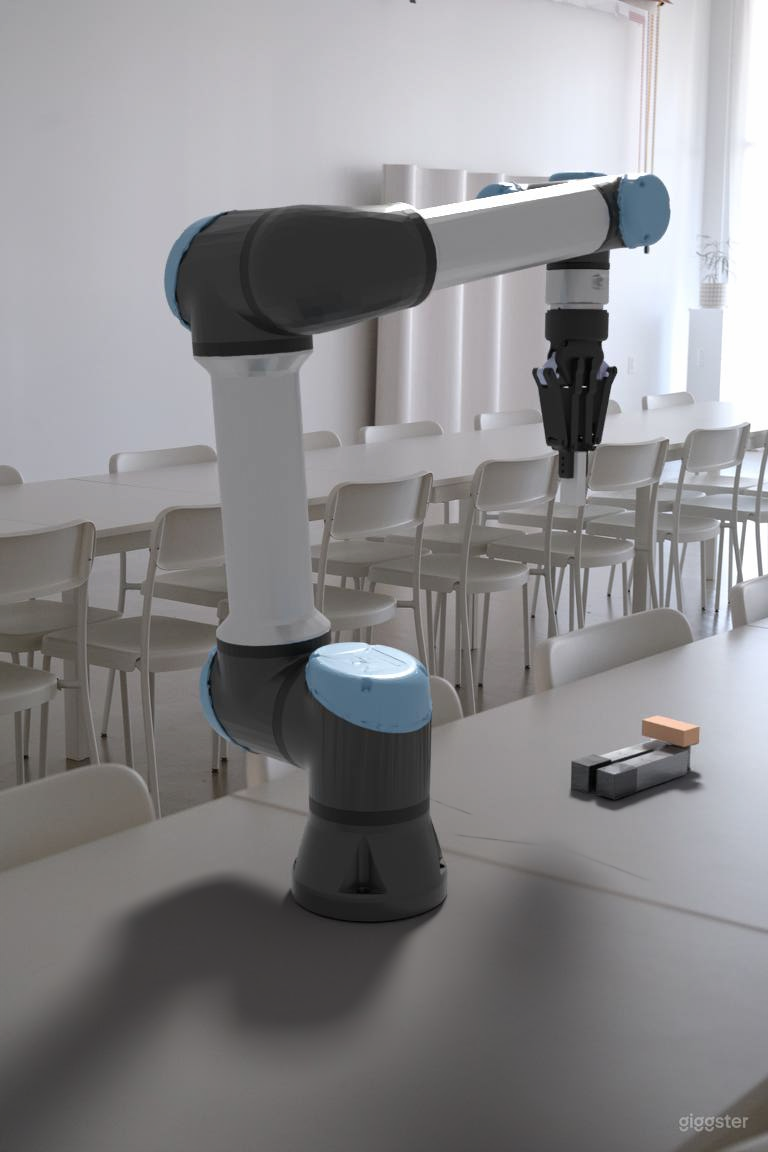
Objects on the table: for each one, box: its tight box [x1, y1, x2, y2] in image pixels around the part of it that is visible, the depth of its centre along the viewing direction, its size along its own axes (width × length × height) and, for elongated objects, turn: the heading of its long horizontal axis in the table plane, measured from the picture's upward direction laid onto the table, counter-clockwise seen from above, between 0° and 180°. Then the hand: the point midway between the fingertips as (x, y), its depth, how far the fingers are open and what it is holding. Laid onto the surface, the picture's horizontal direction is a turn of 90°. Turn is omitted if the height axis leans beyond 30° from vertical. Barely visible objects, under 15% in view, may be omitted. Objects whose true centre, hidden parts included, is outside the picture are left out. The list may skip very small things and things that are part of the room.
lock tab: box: [641, 715, 701, 747], centre depth 170 cm, size 3×6×2 cm, turn 41°
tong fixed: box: [570, 738, 692, 794], centre depth 168 cm, size 18×5×3 cm, turn 131°
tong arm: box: [595, 741, 700, 801], centre depth 167 cm, size 18×5×3 cm, turn 132°
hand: (572, 504), depth 169 cm, fingers closed
